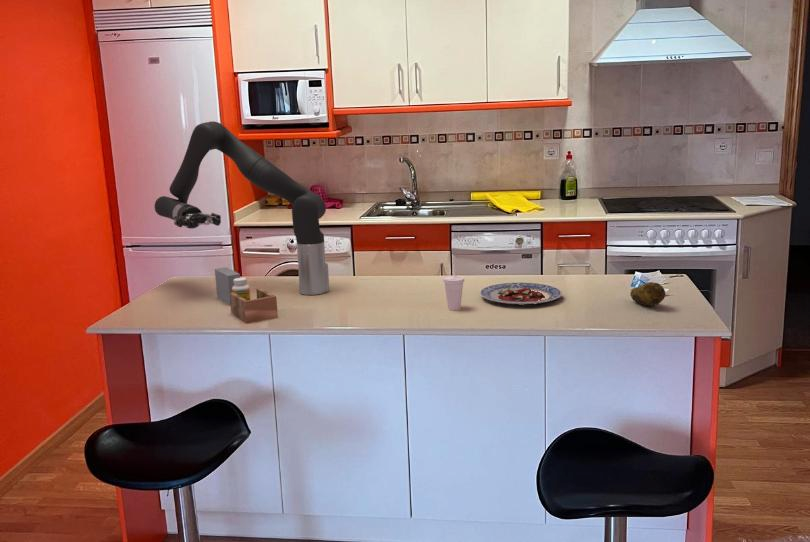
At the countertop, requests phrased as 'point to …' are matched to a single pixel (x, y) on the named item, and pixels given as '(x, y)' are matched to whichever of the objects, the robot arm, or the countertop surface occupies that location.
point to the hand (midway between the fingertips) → (205, 223)
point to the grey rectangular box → (225, 283)
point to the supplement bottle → (241, 288)
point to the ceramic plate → (520, 293)
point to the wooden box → (254, 306)
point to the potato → (648, 293)
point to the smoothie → (454, 290)
